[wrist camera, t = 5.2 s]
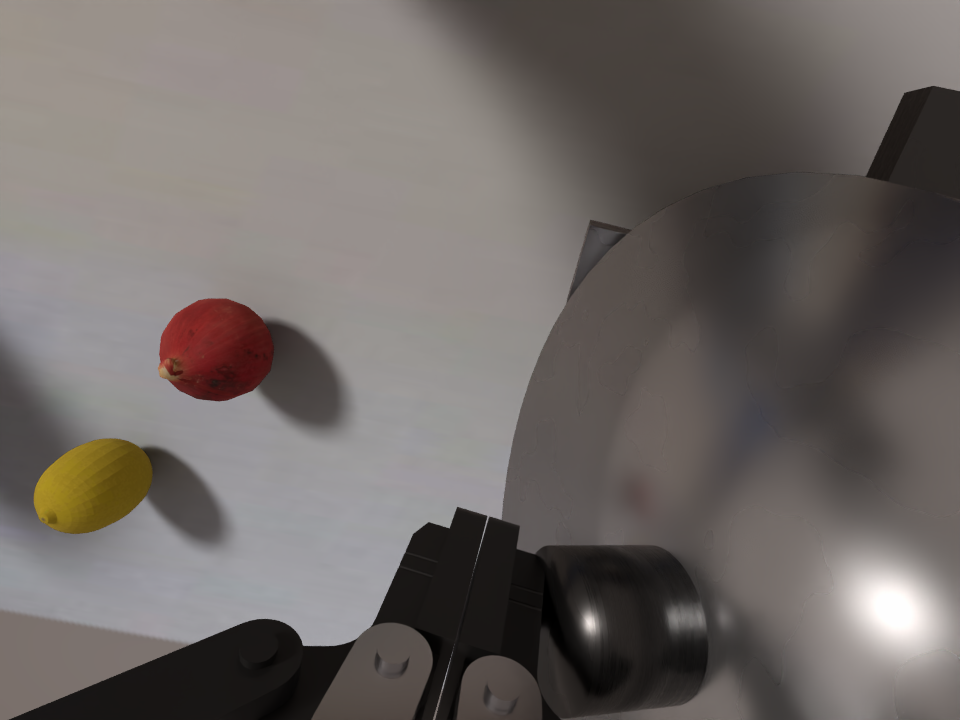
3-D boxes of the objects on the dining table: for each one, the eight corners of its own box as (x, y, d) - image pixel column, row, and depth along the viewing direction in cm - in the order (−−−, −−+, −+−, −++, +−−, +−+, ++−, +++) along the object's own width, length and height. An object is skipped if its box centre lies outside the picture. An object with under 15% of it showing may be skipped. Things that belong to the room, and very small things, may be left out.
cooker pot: (627, 78, 27) (651, 15, 16) (1027, 167, 25) (1380, 167, 14) (505, 500, 36) (466, 650, 25) (792, 588, 34) (890, 794, 23)
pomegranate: (314, 332, 34) (238, 377, 27) (267, 391, 37) (184, 448, 29) (242, 268, 34) (145, 296, 27) (199, 332, 36) (97, 374, 29)
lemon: (104, 465, 42) (-2, 530, 34) (117, 407, 39) (6, 462, 32) (168, 500, 41) (76, 572, 34) (184, 442, 39) (89, 507, 32)
